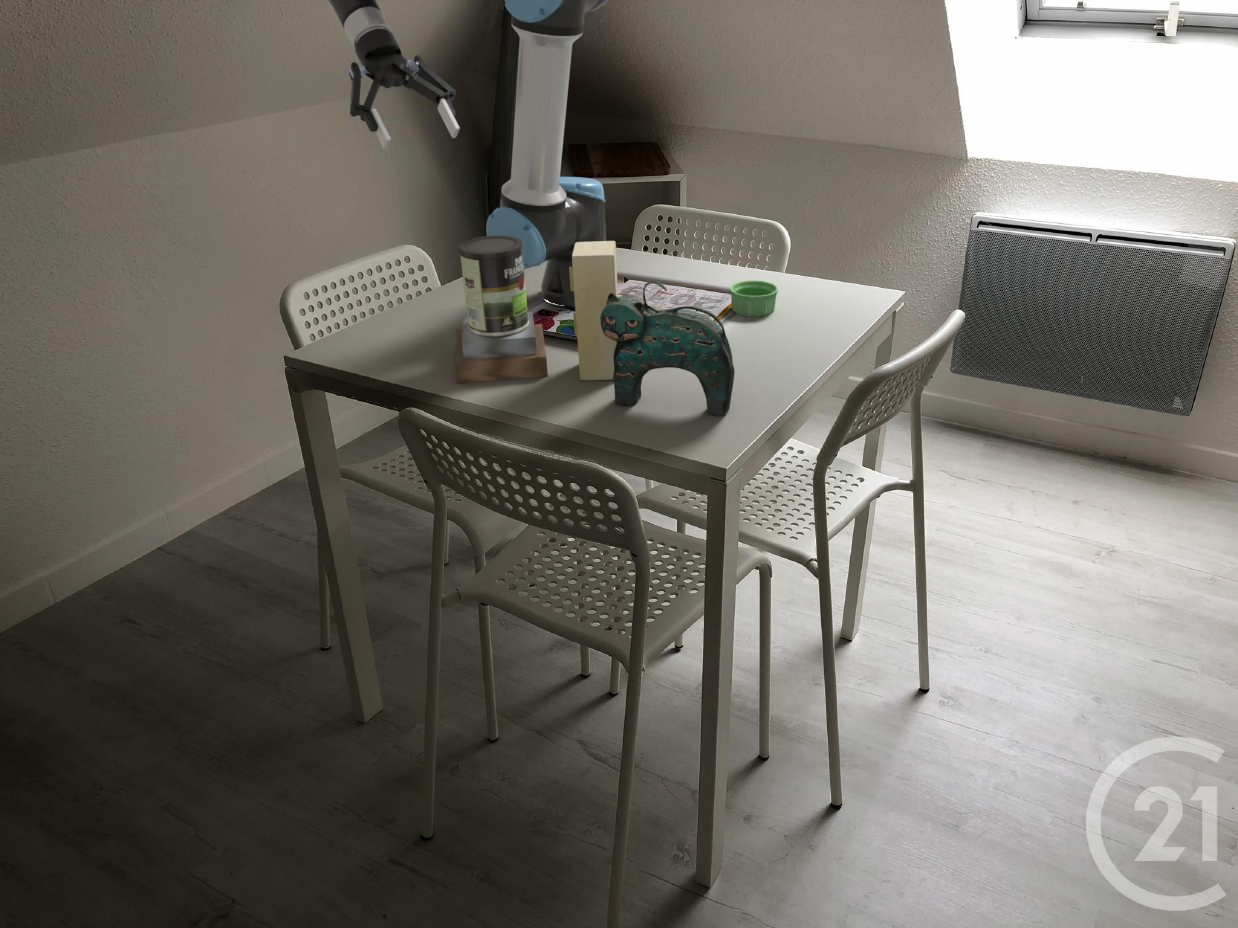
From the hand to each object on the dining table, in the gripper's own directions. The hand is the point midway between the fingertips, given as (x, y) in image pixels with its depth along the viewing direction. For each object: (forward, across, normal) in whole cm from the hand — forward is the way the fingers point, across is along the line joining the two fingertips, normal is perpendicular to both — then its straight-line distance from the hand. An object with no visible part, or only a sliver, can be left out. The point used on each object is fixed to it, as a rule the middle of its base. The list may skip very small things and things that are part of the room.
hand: (422, 139), depth 173 cm
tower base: (+43, +4, -3) cm, 44 cm away
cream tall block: (+53, -6, +7) cm, 54 cm away
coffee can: (+39, +4, +2) cm, 39 cm away
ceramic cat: (+66, -7, +20) cm, 69 cm away
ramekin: (+51, -45, +4) cm, 68 cm away
